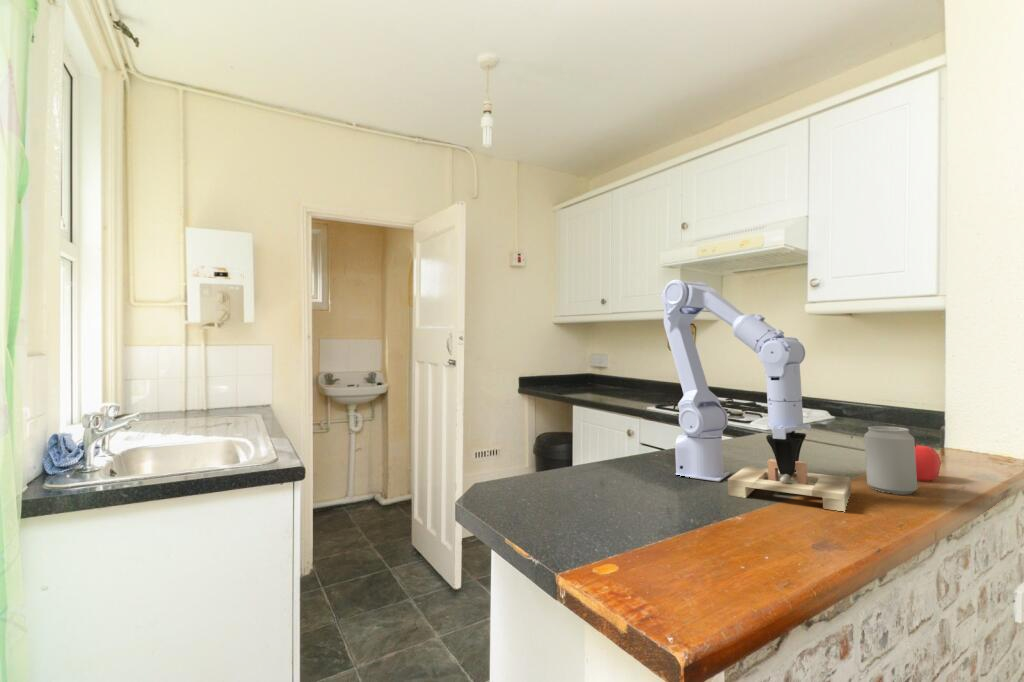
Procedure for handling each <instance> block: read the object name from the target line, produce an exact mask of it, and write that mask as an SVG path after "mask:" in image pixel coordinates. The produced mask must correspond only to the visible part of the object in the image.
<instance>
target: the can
mask: <svg viewBox="0 0 1024 682" xmlns="http://www.w3.org/2000/svg"><path fill="white" fill-rule="evenodd" d="M867 429H868V431H866V432H865V433H864V435H863V437H864V439H863V440H864V452H865V453H864V455H865V471H866V484H867V485H868V486H869V487H871V488H872V489H873V488H874V489H877V490H880V491H884V492H889V493H892V494H891V495H899V494H900V495H901V496H903V495H904V496H905V495H906V496H907V495H912V494H913V493H914V492H916V491H917V490H918V481H917V474H916V459H915V444H914V440H915V437H914V436H913V435H912V434H910V433H909V431H910V429H909V428H906V427H900V426H888V425H887V426H886V425H885V426H884V425H882V426H881V425H880V426H879V425H877V426H876V425H874V426H868V427H867ZM874 489H873V490H874ZM884 492H883V493H884ZM889 493H888V494H889Z"/></svg>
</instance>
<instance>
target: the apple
mask: <svg viewBox="0 0 1024 682" xmlns="http://www.w3.org/2000/svg"><path fill="white" fill-rule="evenodd" d="M916 443H917V442H916V439H914V444H915V459H916V474H917V480H920V481H919V482H926V481H928V482H930V481H931V480H934V479H936V478H937V477H939V474H940V470H941V465H942V461H941V458H940V456H939V453H937V451H936V450H935V449H934V448H933V447H929V446H927V445H921V444H916Z"/></svg>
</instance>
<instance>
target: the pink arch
mask: <svg viewBox="0 0 1024 682" xmlns="http://www.w3.org/2000/svg"><path fill="white" fill-rule="evenodd" d="M807 463H808V462H806V461H800V460H799V461H796V462H795V470H797V471H796V472H797V480H798V481H797V484H804V485H809V484H808V483H809V482H808V478H807V473H808V466H807V465H808V464H807ZM767 468H768V477H767V480H772V481H780V479H779V477H778V470H779V469H778V466H777V462H776V458H775V459H774V458H770V459H768V460H767Z"/></svg>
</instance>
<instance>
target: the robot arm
mask: <svg viewBox="0 0 1024 682" xmlns="http://www.w3.org/2000/svg"><path fill="white" fill-rule="evenodd" d="M660 299H661V303H662V306H663V327H664V330H665V333H666V336H667V341H668V344H669V348H670V351H671V355H672V358H673V363H674V365H675V369H676V372H677V376H678V378H679V384H680V386H681V389H682V394H683V395H682V398H681V399H680V400H679V402H678V403H677V408H678V411H679V413H678V414H679V415H678V424H679V426H680V429H681V430H682V432H684V434H678V435H677V436H676V439H675V444H674V447H675V449H674V450H675V451H674V452H675V455H674V456H675V474H676V475H680V476H679V477H681V476H685V477H684V478H689V477H690V479H698V480H705V481H712V482H721V481H722V480H724V479H725V478H726V477H728V476H729V475H730V472H728V471H724V461H723V460H724V459H723V458H724V456H723V435H724V430H725V429H726V428H727V426H728V423H729V416H728V413H727V411H726V409H724V407H723V406H722V404H721V403H720V399H719V397H718V396H717V395H715V393H713V392H712V391H711V390H710V389H709V386H708V382H707V378H706V376H705V372H704V370H703V365H702V363H701V359H700V356H699V352H698V349H697V346H696V343H695V340H694V336H693V333H692V330H691V324H692V322H693V321H694V320H695V319H696V318H697V316H698V315H699V314H701V312H702V311H704V309H705V310H706V311H709V312H710V313H711V314H713V315H715V316H716V317H717V318H719V319H720V320H722V321H723V322H725V323H726V324H728V325H729V326H731V327H732V329H733V331H732V332H733V333H732V334H733V336H734V337H735V338H736V339H738V340H739V341H740V342H741V343H743V344H745V345H746V346H747V347H748V348H749V349H750V350H752V351H753V352H754V353H756V354H757V357H758V360H759V361H760V363H761V364H762V365H763V367H764V373H765V380H766V399H767V404H766V405H767V416H768V417H767V418H768V420H767V421H768V423H767V428H768V429H769V430H771V432H772V433H771V434H768V435H766V436H765V439H766V442H767V443H768V444H769V447H771V450H772V452H773V455H774V458H775V459H776V462H777V466H778V470H779V472H780V474H781V475H784V474H788V475H790V476H793V474H794V472H797V470H795V462H796V461H799V462H800V453H801V450H802V449H801V448H802V446H803V443H804V441H805V439H806V437H807V433H803V432H796V431H802V430H810V429H811V428H812V425H811V424H807V423H804V414H803V413H804V412H803V396H802V382H801V381H802V377H801V363H802V362H803V361H804V359H805V357H806V350H805V347H804V345H803V343H802V342H801V341H800V340H799V339H798V338H797V337H792V336H785V335H784V334H785V332H784V331H783V330H782V329H776V328H774V327H773V326H771V325H770V324H769V323H768V322H767V321H765V320H766V317H764V316H763V315H761V314H754V313H750V314H744V313H743V312H742V311H741V310H739V309H738V308H737V307H736V306H734V304H732V303H731V302H730V301H728V300H727V299H726V298H724V297H723V296H722V295H721V294H720V293H718V292H717V291H716V289H715V288H714V287H711V286H709V285H708V284H707V283H704V282H699V281H698V282H694V281H688V280H687V281H685V280H681V279H673V280H670V281H669V282H668V283H667V284H666V285H665V288H664V289H663V291H662V294H661V295H660ZM675 474H674V475H675Z"/></svg>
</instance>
